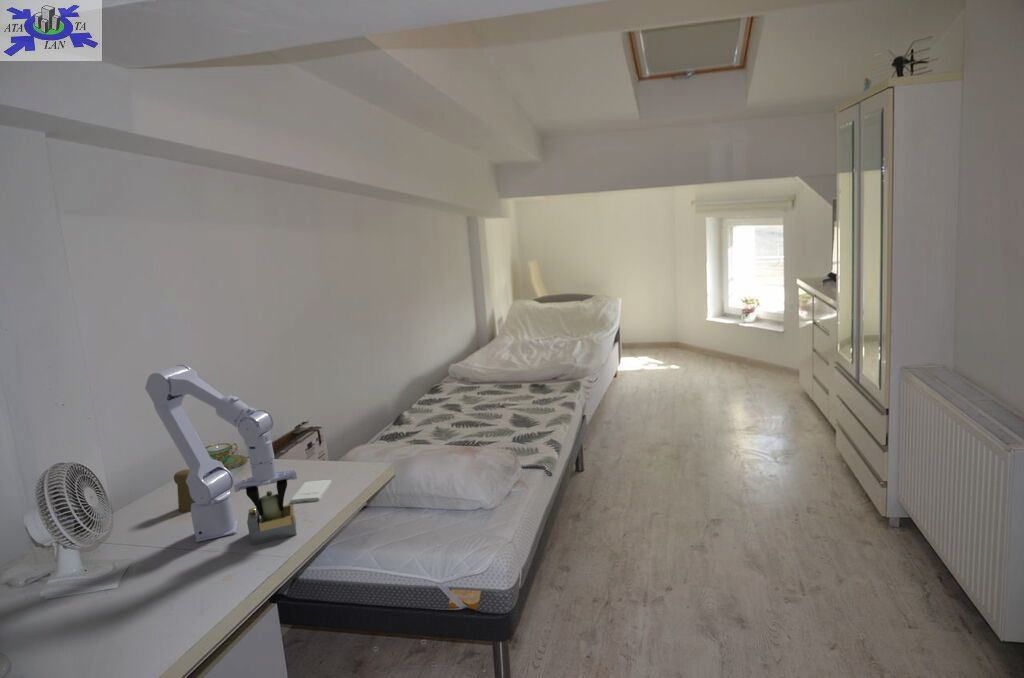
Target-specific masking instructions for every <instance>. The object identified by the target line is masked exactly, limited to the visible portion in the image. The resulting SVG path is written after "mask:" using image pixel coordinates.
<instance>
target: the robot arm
mask: <svg viewBox="0 0 1024 678" xmlns="http://www.w3.org/2000/svg"><path fill="white" fill-rule="evenodd" d="M145 390H146V392H147V394H148V396H149V397H150V399H151V401H152V402H153V407H154V409H155V412H156V413H157V415H158V417H159V419H160V420H161V422H162V423H163V426H164V428H165V429H166V430H167V432H168V434H169V436H170V437H171V439H172V441H173V442H174V444H175V447H176V448H177V450H178V452H179V454H180V455H181V457H182V458H183V460H184V461H185V464H186V465H187V468H188V469H189V470H190V472H189V474H188V477H187V479H186V483H187V485H188V487H189V492H190V496H191V498H192V499H193V500H194V501H195V502H196V503H193V504H192V505H191V511H190V515H191V523H192V526H193V531H194V537H195V542H196V543H198V542H203V541H207V540H211V539H216V538H222V537H225V536H229V535H234V534H237V532H238V524H239V519H235V515H234V510H233V505H232V500H231V499H232V498H231V494H232V488H234V492H235V493H237V492H240V491H242V490H245V493H246V495H247V497H248V499H250V501H251V502H252V503H253V505H254V506H255V508H257V510H258V512H259V515H260V517H261V515H263V513H262V508H261V503H260V498H261V497H260V492H259V487H262V486H268V485H270V484H274V483H275V484H276V491H277V494H278V496H279V503H280V511H283V508H284V507H283V506H284V500H285V495H286V491H287V488H288V487H287V486H288V481H291V480H292V481H295V480H297V479H298V475H297V470H296V469H291V470H281V471H277V465H276V460H275V454H274V453H275V452H274V448H273V442H272V436H271V432H270V431H271V430H272V429H273V427H274V419H273V417H272V415H271V414H270V413H269V412H268V411H267V410H266V409H262V408H260V409H256V408H254V407H252V406H249V405H248V404H246V403H245V402H243V401H241V399H240V398H239V397H238V396H236V395H226V396H224V395H223V394H222V393H220V392H219V391H217V390H216V389H215V388H213V386H211V385H209V384H208V383H207V382H205V381H204V380H203V379H201V378H200V377H199V376H198V373H197V371H196V370H194V369H192V368H191V367H189V366H188V365H186V364H182V363H181V364H177V365H175V366H173V367H170V368H168V369H164V370H161V371H158V372H154V373H153V372H152V373H151V374H150V375H149V376H148V378H147V381H146V384H145ZM186 395H190V396H192V397H194V398H196V399H197V400H199V401H201V402H203V403H204V404H207V405H208V406H211V407H212V408H214V409H215V414H216V416H218V417H220V418H221V419H223V420H224V421H225V422H227V423H228V424H231V425H232V426H233V427H235V428H237V432H238V434H239V435H240V437H241V438H242V439H243V441H244V442H243V443H244V444H245V446H246V448H247V454H248V455H247V456H248V459H249V460H248V461H249V465H250V470H251V475H252V476H251V477H248V478H244V479H241V480H238V481H235V479H234V475H233V474H232V472H231V471H230V469H228V468H226V467H225V466H224V464H223V462H222V461H220V460H217V459H214V458H212V457H211V455H210V454H209V452H208V450H207V449H206V447H205V445H204V444H203V442H202V440H201V437H200V436H199V434H198V433H197V431H196V429H195V428H194V426H193V424H192V422H191V421H190V419H189V417H188V416H187V414H186V412H185V410H184V409H183V406H182V402H183V400H184V398H185V396H186Z"/></svg>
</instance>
